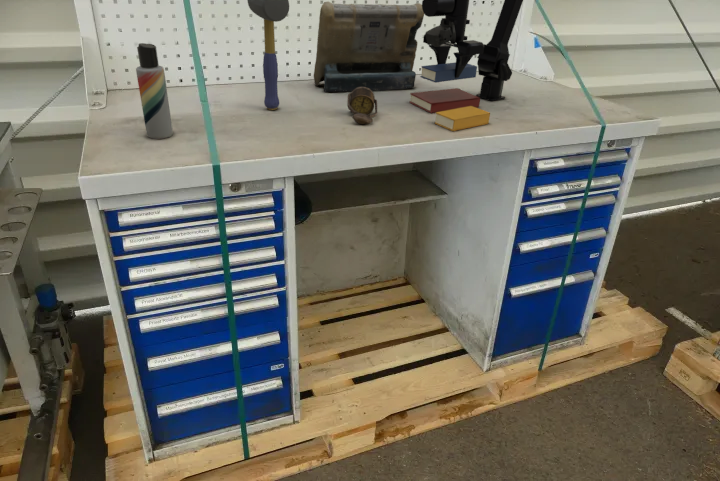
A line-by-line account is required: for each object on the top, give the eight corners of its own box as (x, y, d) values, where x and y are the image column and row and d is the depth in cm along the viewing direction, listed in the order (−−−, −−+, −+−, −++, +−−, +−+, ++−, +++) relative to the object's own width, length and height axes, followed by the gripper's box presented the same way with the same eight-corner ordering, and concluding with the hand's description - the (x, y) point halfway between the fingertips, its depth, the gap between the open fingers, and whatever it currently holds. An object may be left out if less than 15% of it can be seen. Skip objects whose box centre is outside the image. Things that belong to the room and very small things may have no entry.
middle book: (460, 72, 154) (461, 61, 152) (475, 77, 149) (477, 66, 147) (420, 77, 146) (421, 66, 145) (435, 82, 142) (436, 71, 140)
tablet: (401, 78, 178) (408, -3, 165) (421, 89, 167) (431, 3, 155) (310, 84, 166) (310, -3, 153) (326, 95, 155) (327, 4, 143)
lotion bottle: (150, 130, 123) (135, 40, 113) (175, 131, 123) (163, 41, 113) (144, 139, 118) (128, 46, 108) (170, 139, 119) (156, 47, 108)
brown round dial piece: (390, 93, 140) (356, 80, 142) (376, 101, 129) (339, 86, 131) (382, 119, 144) (349, 106, 145) (367, 128, 133) (332, 114, 134)
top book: (469, 116, 144) (471, 105, 143) (488, 123, 140) (490, 112, 138) (434, 123, 138) (435, 112, 136) (453, 131, 133) (454, 119, 131)
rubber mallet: (293, 114, 139) (291, -11, 123) (266, 117, 135) (261, -11, 120) (276, 101, 148) (273, -17, 133) (251, 104, 145) (244, -17, 129)
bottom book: (455, 97, 161) (457, 88, 159) (478, 107, 153) (480, 97, 151) (409, 102, 154) (410, 92, 152) (430, 113, 145) (431, 103, 144)
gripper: (410, 11, 142) (405, 70, 150) (457, 21, 129) (449, 85, 137) (442, 9, 147) (435, 66, 155) (490, 19, 134) (480, 81, 142)
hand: (448, 74), depth 147 cm, fingers closed on middle book, 6 cm apart
